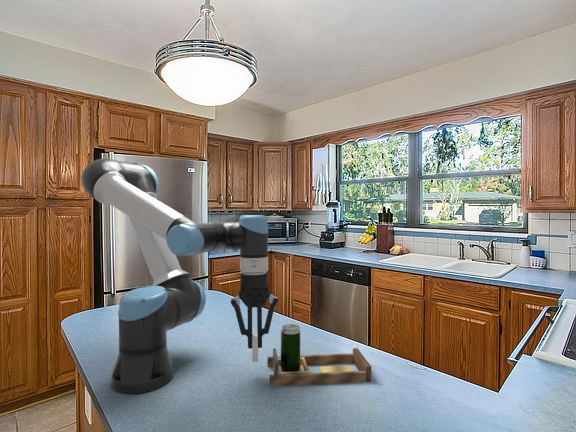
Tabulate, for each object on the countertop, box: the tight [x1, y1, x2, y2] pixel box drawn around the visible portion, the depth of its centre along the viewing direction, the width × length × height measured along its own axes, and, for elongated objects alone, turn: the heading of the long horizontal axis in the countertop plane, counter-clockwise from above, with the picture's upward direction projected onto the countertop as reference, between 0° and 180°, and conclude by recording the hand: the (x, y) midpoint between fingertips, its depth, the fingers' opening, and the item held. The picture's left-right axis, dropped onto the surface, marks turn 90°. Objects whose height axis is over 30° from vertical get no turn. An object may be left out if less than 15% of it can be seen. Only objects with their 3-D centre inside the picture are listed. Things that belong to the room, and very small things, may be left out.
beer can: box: [280, 323, 302, 372], centre depth 94 cm, size 5×5×12 cm
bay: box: [266, 347, 372, 388], centre depth 94 cm, size 27×12×4 cm, turn 96°
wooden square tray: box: [272, 347, 311, 375], centre depth 94 cm, size 9×9×5 cm
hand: (255, 359), depth 92 cm, fingers closed
